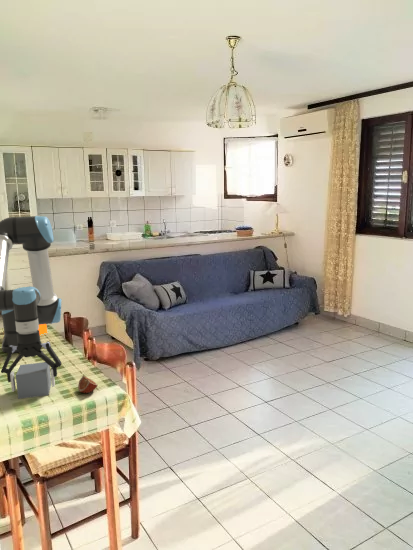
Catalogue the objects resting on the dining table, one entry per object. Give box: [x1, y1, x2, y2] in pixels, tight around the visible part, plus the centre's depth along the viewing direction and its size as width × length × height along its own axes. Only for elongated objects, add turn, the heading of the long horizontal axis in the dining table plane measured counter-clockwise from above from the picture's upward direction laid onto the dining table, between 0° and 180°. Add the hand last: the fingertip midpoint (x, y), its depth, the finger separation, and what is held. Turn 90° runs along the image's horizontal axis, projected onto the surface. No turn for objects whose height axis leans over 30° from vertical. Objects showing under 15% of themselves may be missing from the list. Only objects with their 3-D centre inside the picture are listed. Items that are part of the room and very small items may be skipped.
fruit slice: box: [77, 375, 98, 394], centre depth 163 cm, size 8×7×5 cm
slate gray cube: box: [15, 361, 52, 400], centre depth 164 cm, size 10×10×9 cm
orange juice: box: [38, 324, 48, 336], centre depth 233 cm, size 8×9×20 cm
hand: (33, 387), depth 163 cm, fingers open, 13 cm apart
